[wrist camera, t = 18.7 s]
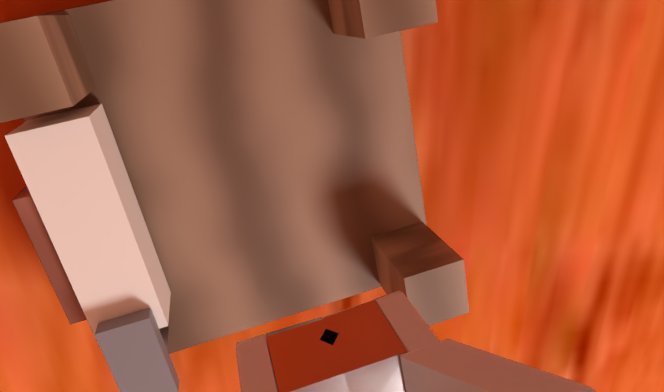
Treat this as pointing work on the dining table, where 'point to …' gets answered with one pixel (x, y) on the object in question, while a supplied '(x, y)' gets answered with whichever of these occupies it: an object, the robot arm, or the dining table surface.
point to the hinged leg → (100, 240)
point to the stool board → (247, 150)
